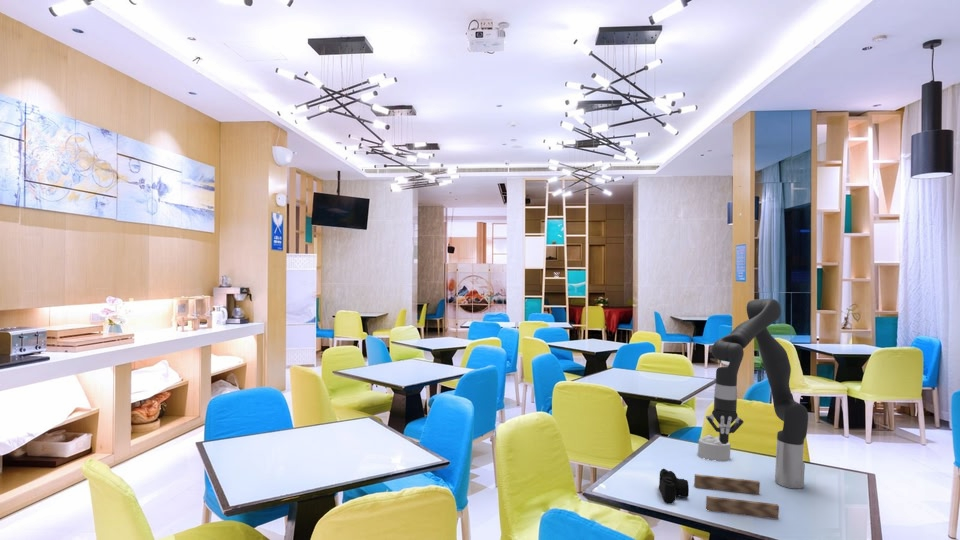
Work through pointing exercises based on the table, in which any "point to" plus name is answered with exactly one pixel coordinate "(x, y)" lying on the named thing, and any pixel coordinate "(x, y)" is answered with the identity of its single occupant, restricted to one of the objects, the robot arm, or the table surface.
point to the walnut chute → (733, 504)
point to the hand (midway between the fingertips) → (723, 443)
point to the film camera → (672, 486)
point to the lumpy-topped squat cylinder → (713, 449)
